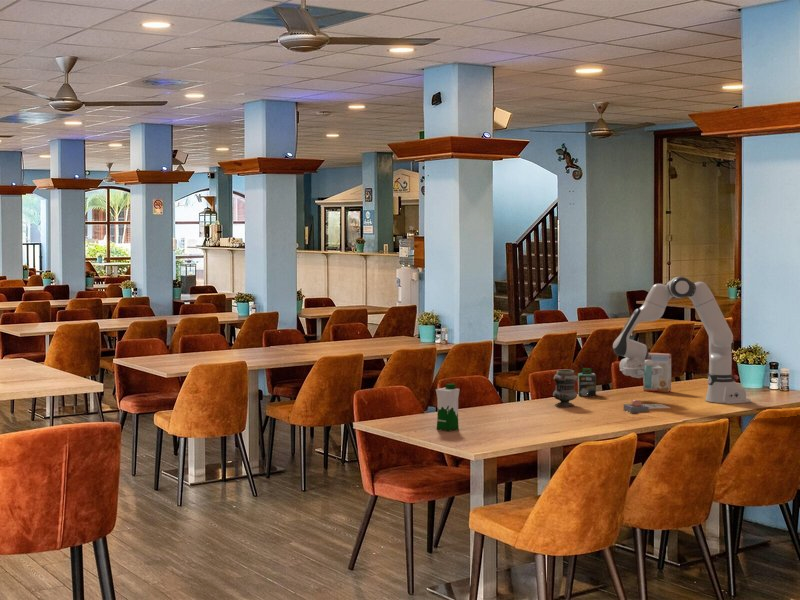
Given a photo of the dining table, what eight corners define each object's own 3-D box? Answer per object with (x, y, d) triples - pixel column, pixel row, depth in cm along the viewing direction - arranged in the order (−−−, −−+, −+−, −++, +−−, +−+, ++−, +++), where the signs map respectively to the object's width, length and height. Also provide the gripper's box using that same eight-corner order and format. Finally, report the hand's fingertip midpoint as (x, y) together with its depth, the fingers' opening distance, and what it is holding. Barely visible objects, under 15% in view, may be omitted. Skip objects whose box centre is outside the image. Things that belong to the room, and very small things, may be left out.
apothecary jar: (563, 408, 501) (564, 372, 500) (547, 405, 511) (548, 369, 510) (582, 406, 508) (582, 370, 507) (565, 403, 518) (566, 368, 517)
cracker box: (671, 391, 556) (671, 353, 554) (668, 392, 551) (668, 354, 549) (646, 389, 563) (646, 352, 562) (642, 390, 558) (643, 353, 557)
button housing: (640, 409, 497) (640, 403, 497) (648, 412, 488) (648, 406, 488) (623, 410, 496) (623, 404, 495) (631, 413, 487) (631, 407, 487)
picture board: (661, 404, 512) (661, 403, 512) (673, 409, 499) (673, 407, 499) (627, 405, 509) (627, 404, 509) (639, 410, 496) (639, 409, 495)
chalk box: (594, 394, 547) (594, 366, 546) (596, 396, 538) (596, 369, 537) (577, 393, 548) (577, 366, 547) (578, 396, 539) (578, 368, 538)
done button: (638, 407, 494) (638, 399, 494) (642, 409, 490) (642, 401, 490) (629, 408, 494) (630, 399, 493) (633, 409, 489) (633, 401, 489)
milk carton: (461, 429, 449) (461, 384, 448) (448, 432, 442) (448, 386, 441) (446, 426, 455) (446, 382, 453) (433, 429, 448) (433, 384, 447)
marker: (649, 387, 507) (650, 359, 506) (652, 388, 504) (653, 360, 503) (642, 387, 507) (643, 359, 506) (645, 388, 503) (646, 360, 502)
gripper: (618, 363, 515) (629, 367, 502) (656, 362, 519) (668, 366, 505) (618, 375, 516) (629, 379, 502) (655, 375, 519) (667, 378, 506)
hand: (648, 373), depth 504 cm, fingers closed on marker, 4 cm apart
